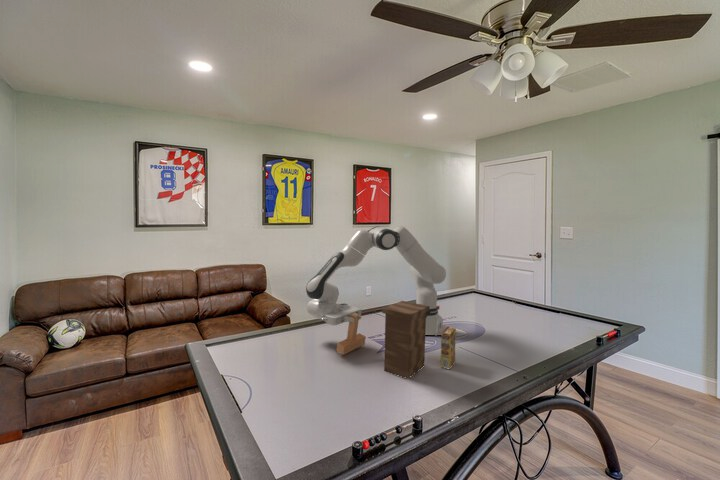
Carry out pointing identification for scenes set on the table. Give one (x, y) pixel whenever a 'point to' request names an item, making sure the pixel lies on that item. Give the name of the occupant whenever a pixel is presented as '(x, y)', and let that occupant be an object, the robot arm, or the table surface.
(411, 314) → the stand
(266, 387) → the table surface
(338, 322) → the robot arm
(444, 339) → the candy box
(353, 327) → the t bar
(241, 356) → the table surface
